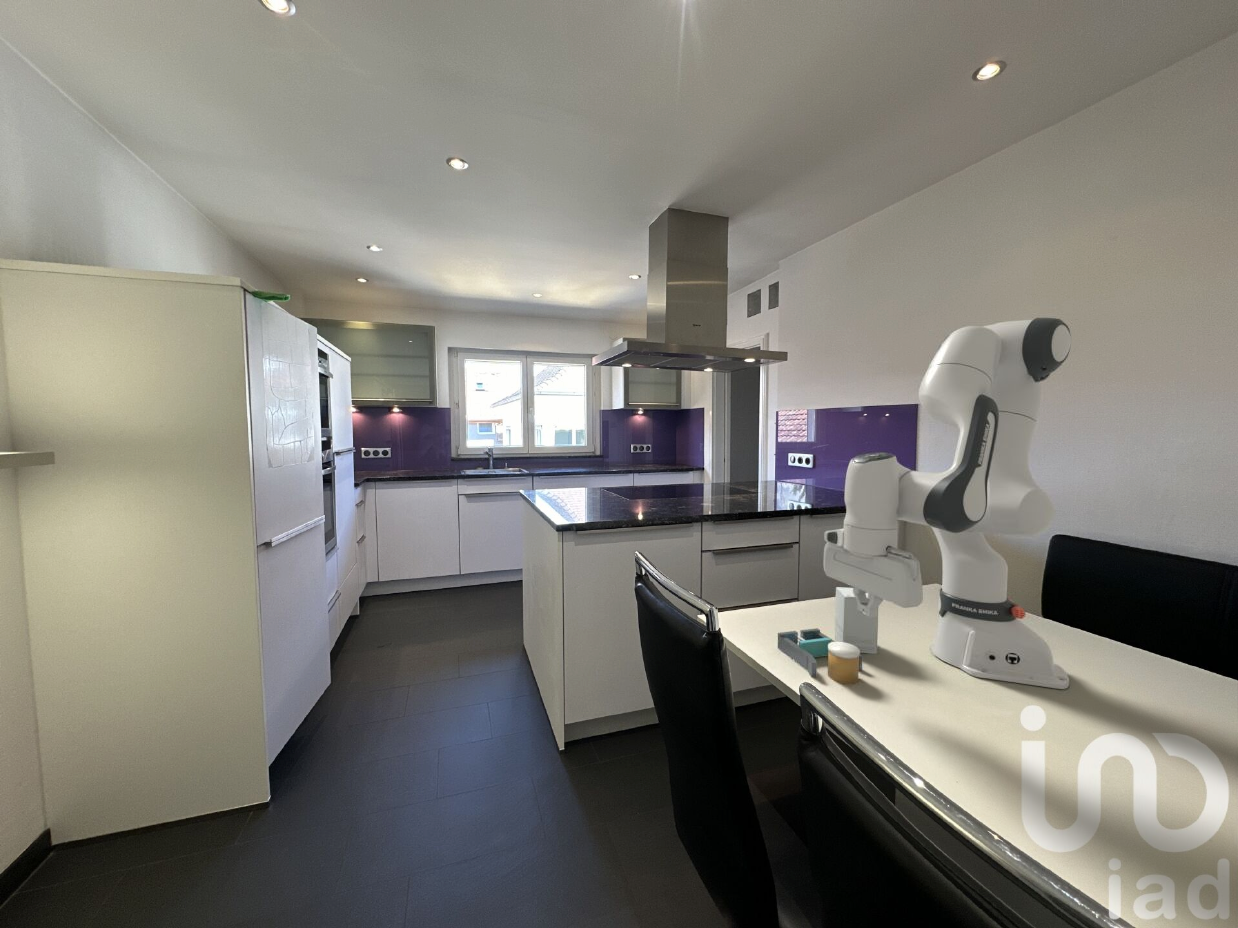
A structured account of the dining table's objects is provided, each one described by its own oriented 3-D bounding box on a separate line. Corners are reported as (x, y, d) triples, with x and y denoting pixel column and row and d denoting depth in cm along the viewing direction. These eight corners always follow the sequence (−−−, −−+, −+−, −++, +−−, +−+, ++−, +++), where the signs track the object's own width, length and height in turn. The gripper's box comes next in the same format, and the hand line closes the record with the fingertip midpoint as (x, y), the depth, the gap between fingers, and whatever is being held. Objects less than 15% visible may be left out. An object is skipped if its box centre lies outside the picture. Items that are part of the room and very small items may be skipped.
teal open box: (830, 654, 102) (831, 639, 101) (801, 658, 100) (801, 643, 100) (808, 640, 109) (809, 625, 109) (780, 643, 107) (781, 629, 107)
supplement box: (878, 654, 103) (879, 598, 102) (842, 651, 104) (843, 596, 103) (867, 640, 110) (868, 588, 109) (833, 637, 111) (835, 585, 111)
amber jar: (859, 674, 94) (860, 645, 94) (857, 687, 89) (858, 657, 89) (829, 667, 97) (829, 639, 97) (825, 679, 92) (826, 650, 92)
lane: (863, 670, 96) (863, 653, 95) (812, 677, 93) (812, 660, 92) (820, 642, 109) (820, 627, 108) (774, 648, 106) (774, 633, 105)
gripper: (934, 553, 76) (931, 635, 77) (844, 529, 96) (842, 594, 97) (903, 555, 75) (900, 639, 76) (818, 531, 95) (816, 597, 95)
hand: (867, 614), depth 86 cm, fingers closed
